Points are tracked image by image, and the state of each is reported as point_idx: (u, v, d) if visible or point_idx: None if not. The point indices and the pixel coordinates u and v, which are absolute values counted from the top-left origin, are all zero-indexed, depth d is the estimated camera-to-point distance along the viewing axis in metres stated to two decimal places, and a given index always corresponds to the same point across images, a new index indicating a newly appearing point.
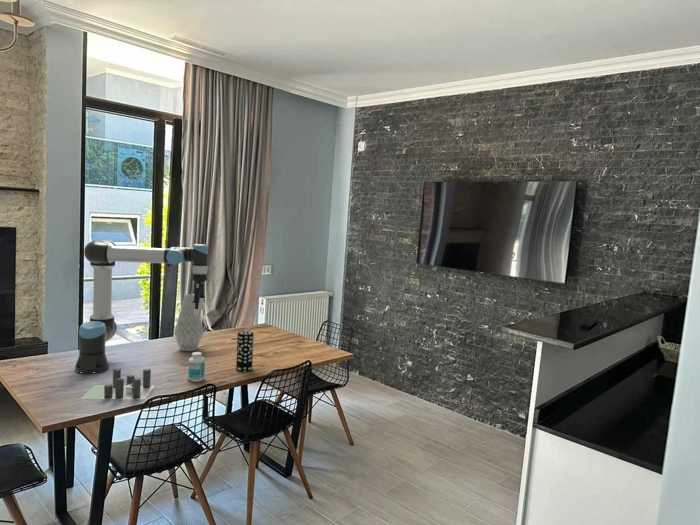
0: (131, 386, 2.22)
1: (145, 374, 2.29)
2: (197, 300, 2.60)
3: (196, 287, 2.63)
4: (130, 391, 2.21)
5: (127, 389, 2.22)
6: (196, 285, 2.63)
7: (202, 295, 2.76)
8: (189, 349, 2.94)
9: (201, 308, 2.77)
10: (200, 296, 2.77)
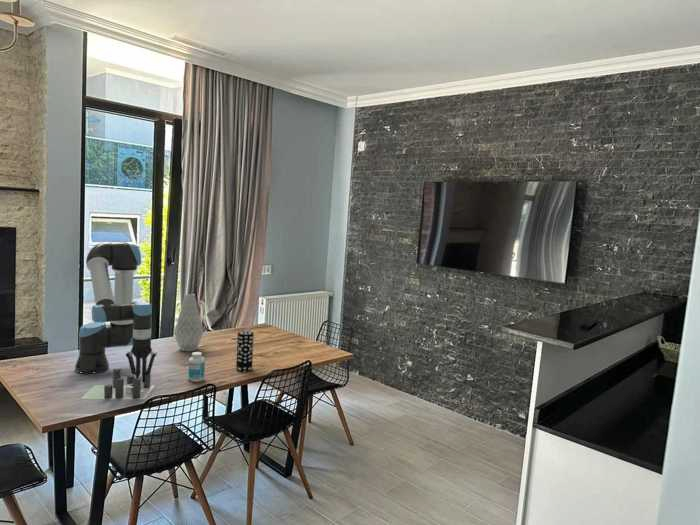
0: (131, 386, 2.22)
1: None
2: None
3: None
4: (130, 391, 2.21)
5: (127, 389, 2.22)
6: None
7: (142, 370, 2.23)
8: (189, 349, 2.94)
9: None
10: None
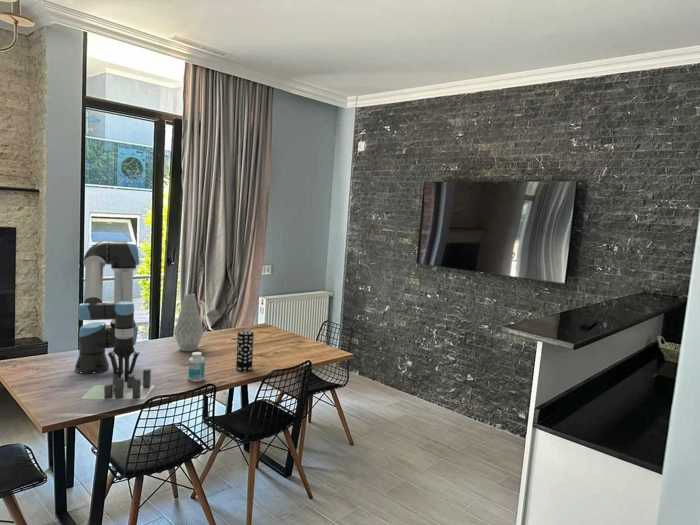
0: (113, 386, 2.21)
1: (145, 374, 2.29)
2: None
3: None
4: None
5: None
6: None
7: None
8: (189, 349, 2.94)
9: None
10: None
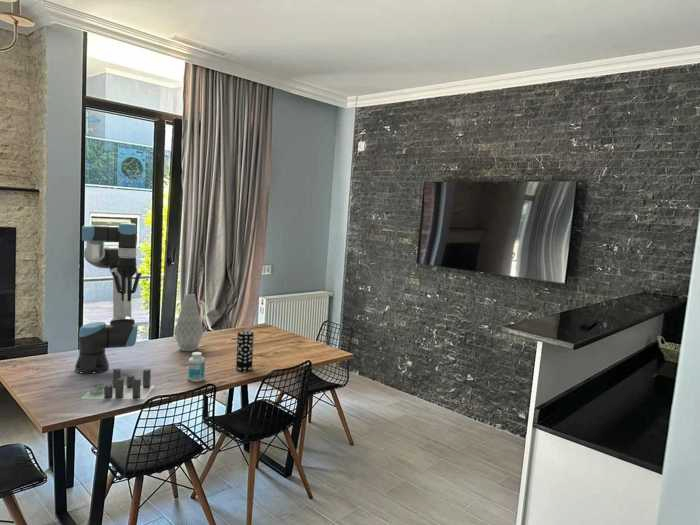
0: (94, 386, 2.20)
1: (145, 374, 2.29)
2: None
3: None
4: (93, 391, 2.19)
5: (90, 389, 2.19)
6: None
7: None
8: (189, 349, 2.94)
9: None
10: None
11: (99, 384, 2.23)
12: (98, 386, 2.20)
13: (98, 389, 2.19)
